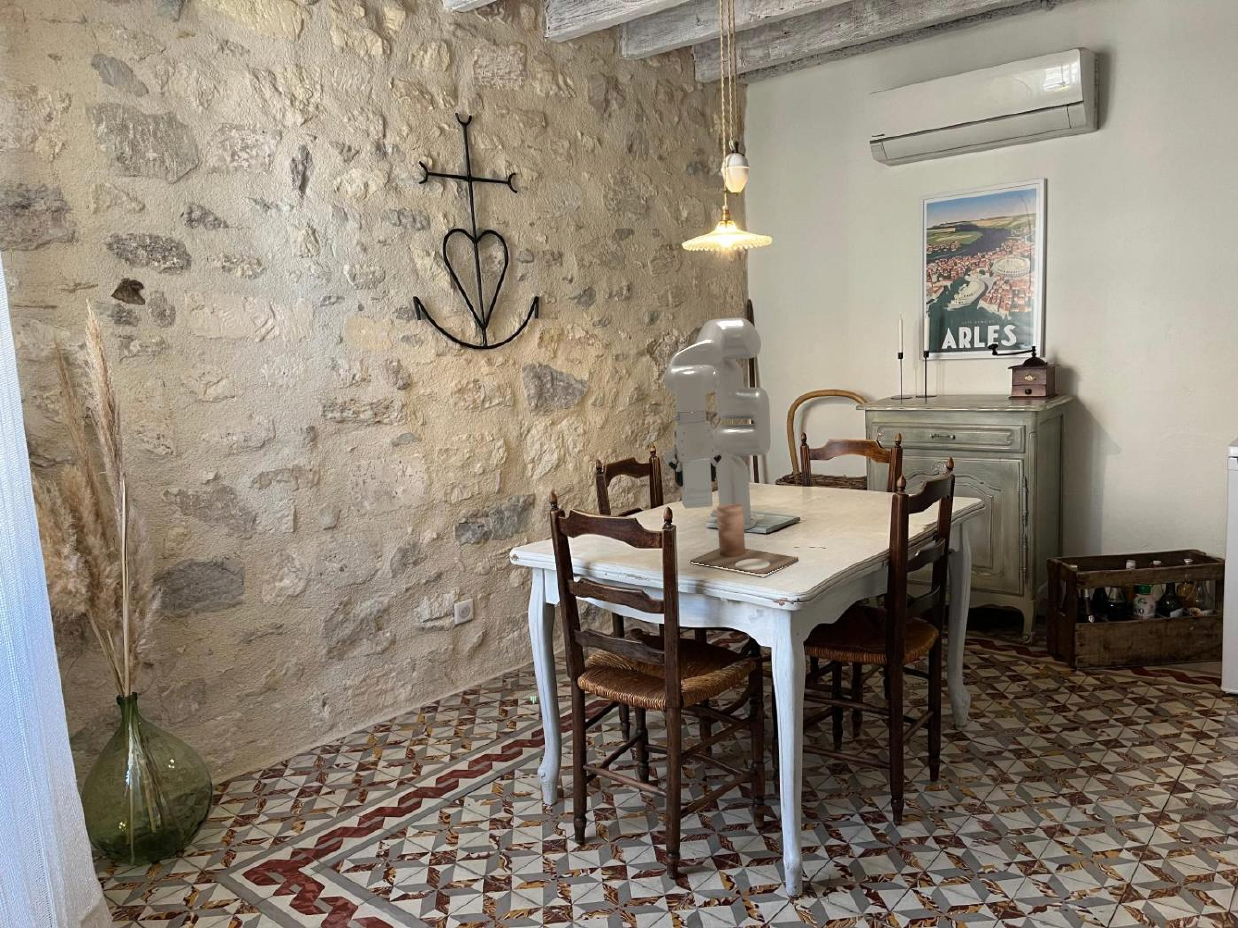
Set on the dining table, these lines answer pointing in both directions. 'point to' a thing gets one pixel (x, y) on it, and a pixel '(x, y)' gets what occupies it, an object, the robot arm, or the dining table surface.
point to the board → (748, 555)
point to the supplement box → (697, 484)
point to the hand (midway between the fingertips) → (696, 482)
